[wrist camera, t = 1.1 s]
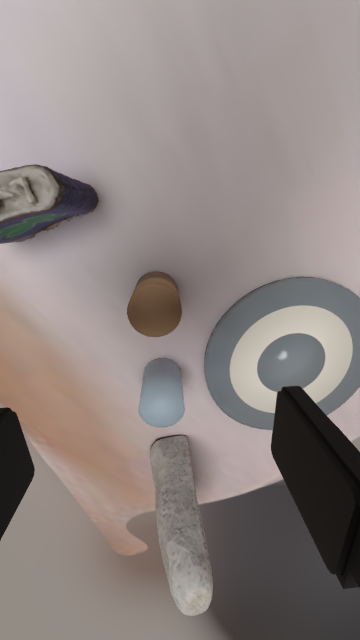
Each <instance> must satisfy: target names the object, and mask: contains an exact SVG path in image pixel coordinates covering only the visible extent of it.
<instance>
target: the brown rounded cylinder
mask: <svg viewBox="0 0 360 640" xmlns="http://www.w3.org/2000/svg"><path fill="white" fill-rule="evenodd" d="M127 314H128V319H129V321H130V323H131V325H132V326H133V327H134V329H136V330H137V331H138V332H139V333H141V334H143V335H146V336H149V337H160V336H164V335H167V334H169V333H170V332H172V331H173V330H174V329H175V328H176V327H177V325H178V324H179V322H180V319H181V315H182V310H181V304H180V299H179V294H178V289H177V285H176V283H175V281H174V280H173V279H172V278H171V277H170V276H169V275H167V274H165V273H162V272H150V273H148V274H146V275H144V276H143V277H142V278H141V279H140V280H139V281H138V283H137V285H136V287H135V290H134V292H133V294H132V297H131V299H130V301H129V304H128V308H127Z"/></svg>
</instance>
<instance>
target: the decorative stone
mask: <svg viewBox="0 0 360 640" xmlns="http://www.w3.org/2000/svg"><path fill="white" fill-rule="evenodd" d="M150 460H151V464H152V473H153V480H154V484H155V488H156V514H157V526H158V534H159V542H160V547H161V553H162V558H163V562H164V566H165V570H166V574H167V577H168V582H169V586H170V590H171V593H172V595H173V598H174V599H175V602H176V604H177V607H178V608H179V609H180V611H181V612H182V613H184V614H186V615H191V616H194V615H197V614H200V613H203V612H204V611H206V609H207V608H208V607H209V604H210V602H211V598H212V586H213V580H212V572H211V566H210V561H209V555H208V550H207V545H206V540H205V535H204V528H203V524H202V519H201V514H200V510H199V507H198V502H197V497H196V491H195V485H194V479H193V472H192V465H191V457H190V451H189V445H188V441H187V437H186V436H183V435H181V436H173V437H168V438H164V439H160V440H158V441H156V442H155V443H154V444H153V446H152V447H151V451H150Z"/></svg>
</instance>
